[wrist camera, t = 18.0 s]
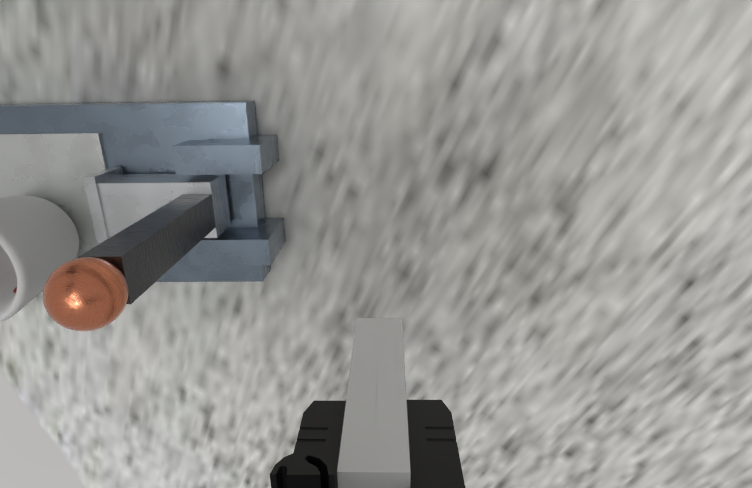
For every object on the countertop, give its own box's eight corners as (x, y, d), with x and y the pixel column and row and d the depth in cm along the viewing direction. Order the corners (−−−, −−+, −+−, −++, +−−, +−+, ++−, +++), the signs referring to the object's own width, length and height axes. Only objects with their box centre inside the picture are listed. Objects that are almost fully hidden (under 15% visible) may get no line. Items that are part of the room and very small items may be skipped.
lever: (111, 167, 36) (-141, 254, 19) (232, 165, 36) (90, 253, 19) (123, 230, 38) (-98, 363, 21) (240, 230, 38) (114, 363, 21)
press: (-52, 104, 38) (-121, 110, 33) (273, 100, 37) (255, 105, 32) (-2, 270, 43) (-56, 298, 37) (287, 269, 42) (273, 297, 37)
